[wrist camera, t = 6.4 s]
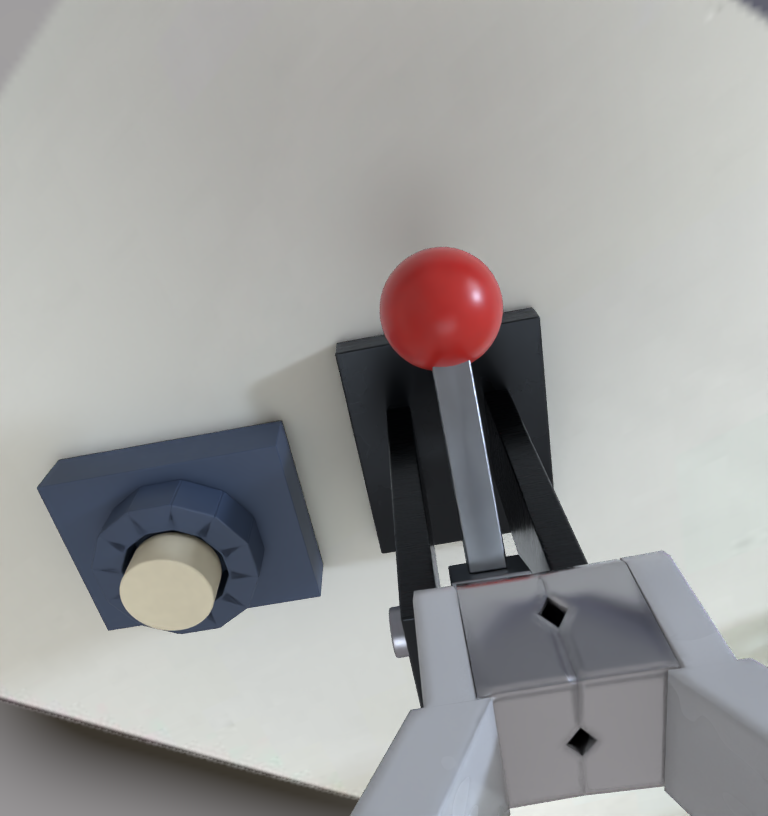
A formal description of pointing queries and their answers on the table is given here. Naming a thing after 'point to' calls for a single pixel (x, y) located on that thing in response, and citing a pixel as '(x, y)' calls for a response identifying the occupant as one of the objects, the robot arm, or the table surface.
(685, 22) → the table surface
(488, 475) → the lever
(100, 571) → the button box
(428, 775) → the robot arm
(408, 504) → the bracket
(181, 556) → the button
